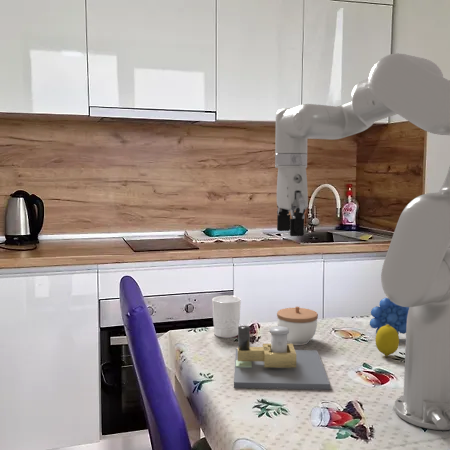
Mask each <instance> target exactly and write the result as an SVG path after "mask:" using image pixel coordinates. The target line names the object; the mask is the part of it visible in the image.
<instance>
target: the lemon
mask: <svg viewBox="0 0 450 450" xmlns="http://www.w3.org/2000/svg"><path fill="white" fill-rule="evenodd" d="M375 334H376V333H375ZM374 340H375V347H376V348H377V349H378V352H380V353H382V354H383V355H384V356H385V357H388V356H390V355H392V354H394V353H396V352H397V350H398V349H399V345H400V336H399V334H398V333H397V331H396V330H395V329H394V328H393V327H391V326H390V325H388V324H387V325H386V326H382V327H381V328H380V329H379V330H378V331H377V334H376V335H375V339H374Z"/></svg>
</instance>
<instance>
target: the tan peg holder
mask: <svg viewBox="0 0 450 450" xmlns="http://www.w3.org/2000/svg"><path fill="white" fill-rule="evenodd" d="M250 331H251V327H250V326H248V325H239V327H238V335H237V343H238V344H237V349H238V361H264V367H275V368H296V352H295V350H296V349H295V347H294V346H295V345H293V344H289V343H287V353H271V343H262V346H251V344H250V343H251V341H250V338H251V336H250V333H251V332H250Z"/></svg>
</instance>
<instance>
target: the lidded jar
mask: <svg viewBox="0 0 450 450" xmlns="http://www.w3.org/2000/svg"><path fill="white" fill-rule="evenodd" d="M276 317H277V318H276V319H277V322H276V323H277V326H282V327H287V328H288V329H289V333H288V334H287V344H293V346H303V345H307V344H309V341H311V340H312V339H313V338H314V336H315V334H316V331H317V327H318V317H319V314H318V312H317V311H315V310H313V309H309V308H304V307H300V306H295V307H285V308H281V309H279V310H278V311H277V313H276Z"/></svg>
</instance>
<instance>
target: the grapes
mask: <svg viewBox="0 0 450 450" xmlns="http://www.w3.org/2000/svg"><path fill="white" fill-rule="evenodd" d="M408 311H409V307H402V306H399V305H397V304H395V303H393V302H392V301H391V300H390V299H389V298H388V297H384V298H382V299H381V300H379V306H377V305H376V306H374V307H373V308H372V309H371V310H370V315H371V317H372V318H370V321H369V326H370V328H371V329H376V330H375V334H377V331H378V330H379V329H380V328H381V327H382V326H386V325H387V324H388V325H390V326H391V327H393V328H394V329H395V330H396V331H397V333H398V335H399V334H402V335H403V334H404V335H406V326H407V316H408Z"/></svg>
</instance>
